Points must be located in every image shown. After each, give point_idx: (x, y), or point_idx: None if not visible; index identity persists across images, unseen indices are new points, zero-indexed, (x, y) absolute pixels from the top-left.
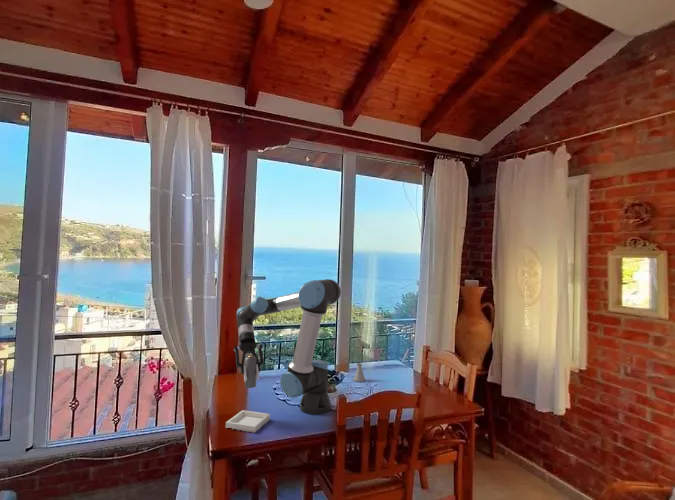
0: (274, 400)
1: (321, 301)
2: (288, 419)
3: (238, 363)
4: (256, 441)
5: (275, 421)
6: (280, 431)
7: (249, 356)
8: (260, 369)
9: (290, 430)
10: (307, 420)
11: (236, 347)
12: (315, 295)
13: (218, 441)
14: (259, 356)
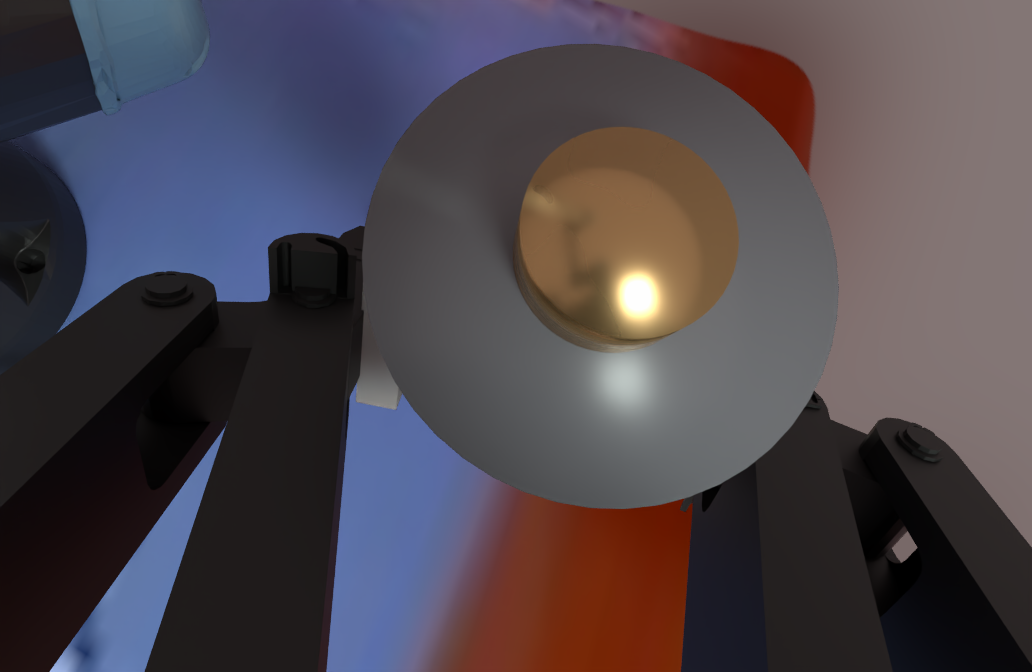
0: (149, 644)
1: None
2: (267, 188)
3: (917, 438)
4: (595, 20)
5: (368, 208)
6: (411, 55)
7: (714, 176)
8: (343, 237)
9: (347, 33)
10: (155, 100)
11: None
12: None
13: (793, 138)
14: (41, 626)
